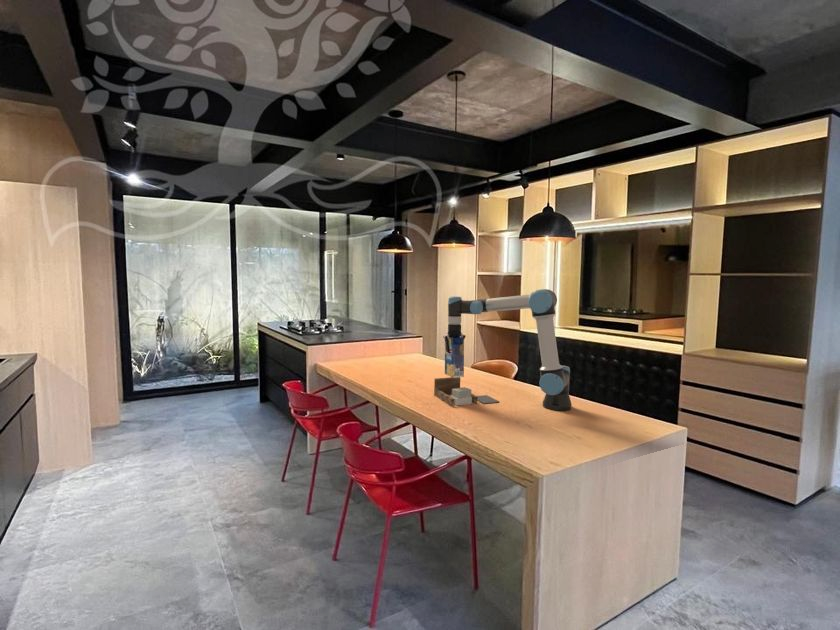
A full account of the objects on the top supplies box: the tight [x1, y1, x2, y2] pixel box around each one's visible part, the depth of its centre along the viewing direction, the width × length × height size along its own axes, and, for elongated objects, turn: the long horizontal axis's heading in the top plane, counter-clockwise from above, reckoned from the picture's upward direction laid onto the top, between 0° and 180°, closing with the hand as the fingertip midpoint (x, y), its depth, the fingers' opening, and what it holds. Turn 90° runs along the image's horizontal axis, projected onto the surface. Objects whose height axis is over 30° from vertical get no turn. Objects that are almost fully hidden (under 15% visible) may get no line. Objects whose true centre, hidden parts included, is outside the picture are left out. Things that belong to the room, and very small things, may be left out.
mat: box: [476, 394, 500, 405], centre depth 260 cm, size 14×10×1 cm
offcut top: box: [452, 386, 472, 399], centre depth 253 cm, size 6×9×4 cm, turn 123°
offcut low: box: [449, 395, 473, 406], centre depth 253 cm, size 7×10×4 cm
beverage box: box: [444, 336, 465, 378], centre depth 261 cm, size 7×11×22 cm, turn 21°
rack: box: [433, 376, 479, 407], centre depth 259 cm, size 24×16×10 cm
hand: (454, 364), depth 261 cm, fingers closed on beverage box, 2 cm apart
